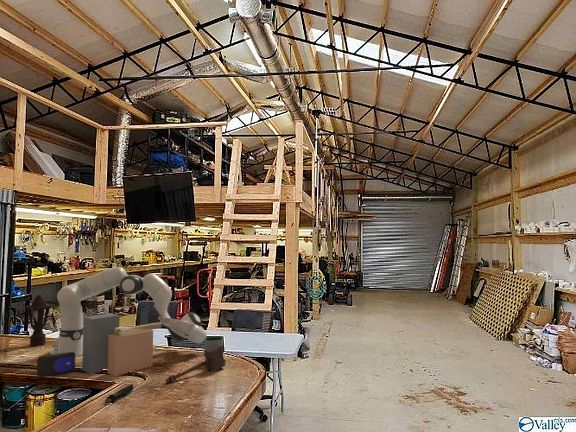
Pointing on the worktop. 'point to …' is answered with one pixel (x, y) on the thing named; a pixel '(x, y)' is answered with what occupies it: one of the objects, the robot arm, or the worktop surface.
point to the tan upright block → (130, 352)
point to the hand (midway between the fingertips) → (164, 318)
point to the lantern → (38, 320)
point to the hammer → (206, 362)
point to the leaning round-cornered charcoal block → (55, 364)
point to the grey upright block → (97, 341)
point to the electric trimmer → (119, 394)
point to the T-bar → (136, 329)
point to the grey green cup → (213, 341)
